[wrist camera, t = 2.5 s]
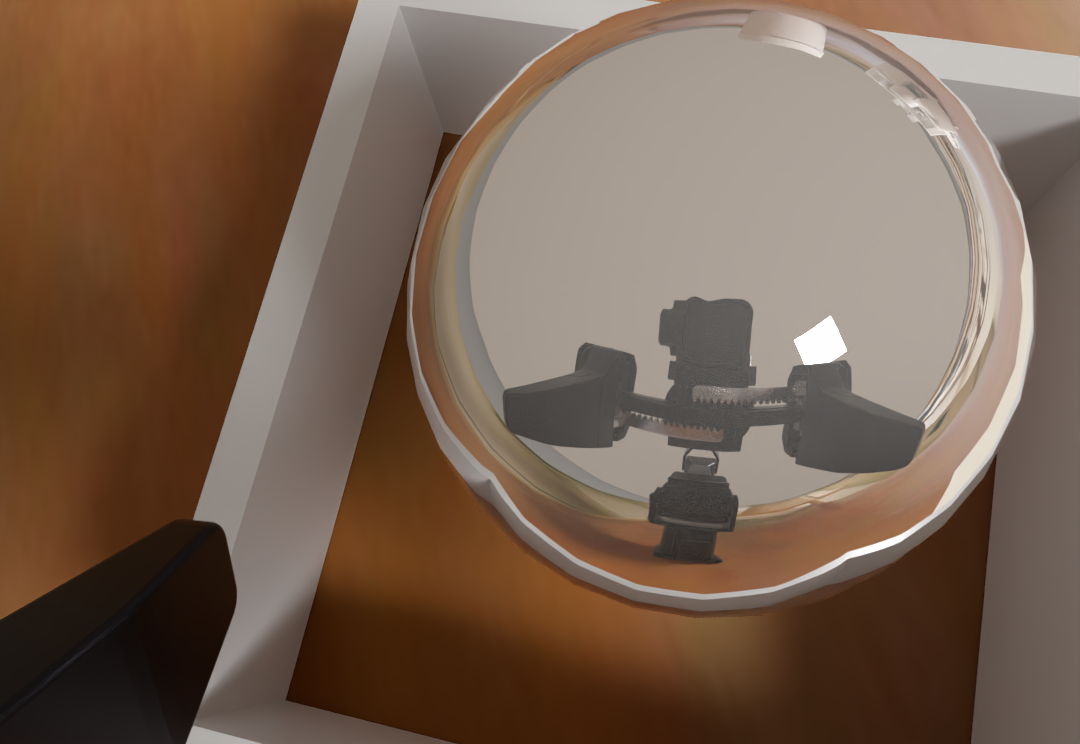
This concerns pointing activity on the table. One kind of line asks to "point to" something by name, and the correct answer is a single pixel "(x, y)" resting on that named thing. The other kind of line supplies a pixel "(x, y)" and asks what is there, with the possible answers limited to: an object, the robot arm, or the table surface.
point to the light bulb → (721, 306)
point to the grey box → (371, 294)
